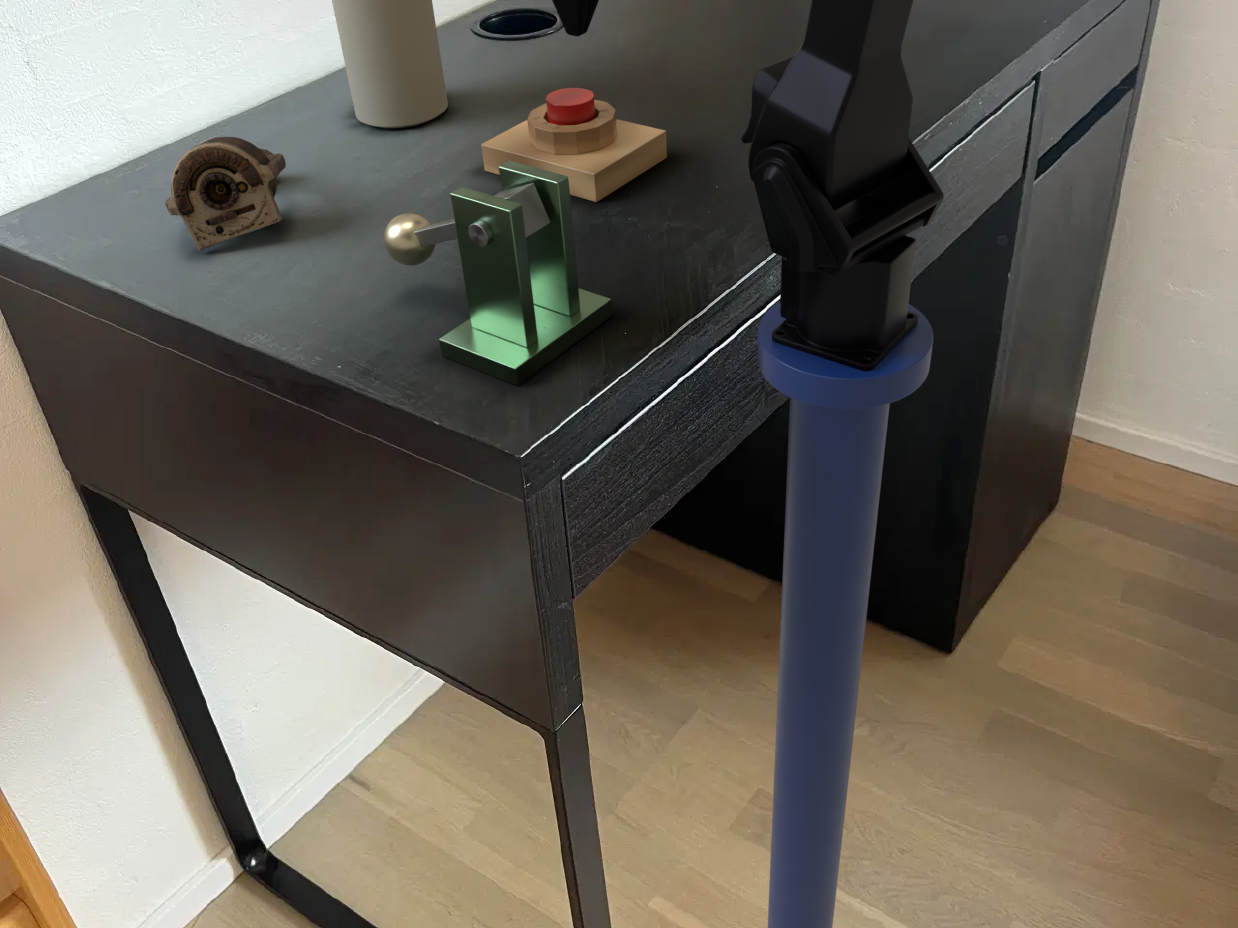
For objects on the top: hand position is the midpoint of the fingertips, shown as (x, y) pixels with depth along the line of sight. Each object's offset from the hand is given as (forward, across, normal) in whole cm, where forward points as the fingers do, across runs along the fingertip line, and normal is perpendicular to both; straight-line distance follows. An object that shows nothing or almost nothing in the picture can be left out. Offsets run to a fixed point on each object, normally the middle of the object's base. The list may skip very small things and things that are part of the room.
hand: (576, 34), depth 73 cm
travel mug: (+13, -8, -27) cm, 31 cm away
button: (+9, -7, -7) cm, 14 cm away
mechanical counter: (+13, +12, -23) cm, 29 cm away
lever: (+8, +14, +2) cm, 16 cm away
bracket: (+13, +14, +6) cm, 20 cm away
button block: (+13, -7, -7) cm, 16 cm away
